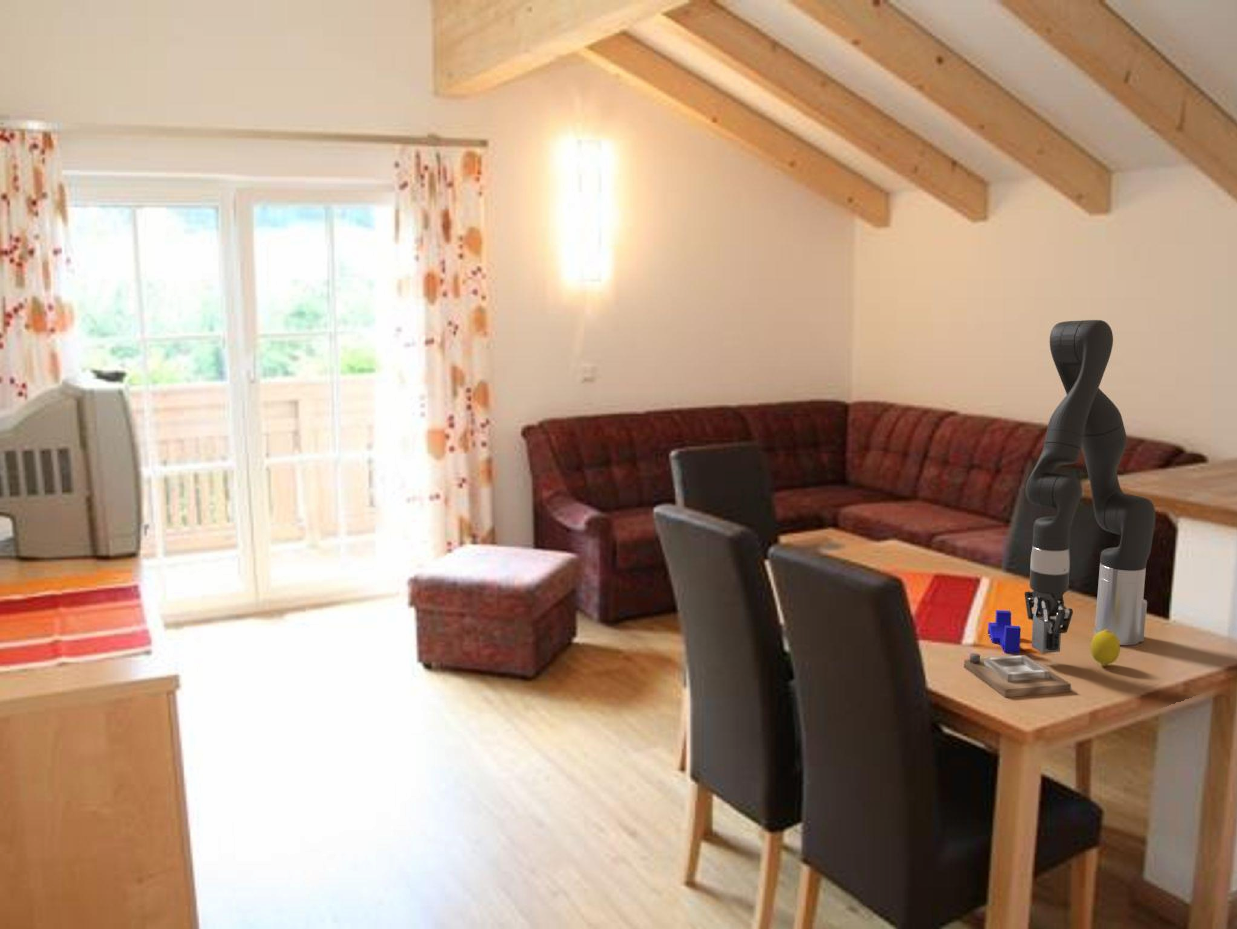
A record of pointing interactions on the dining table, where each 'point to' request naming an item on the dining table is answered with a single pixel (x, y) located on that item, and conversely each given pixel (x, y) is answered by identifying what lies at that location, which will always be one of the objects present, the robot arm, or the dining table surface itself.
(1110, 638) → the lemon
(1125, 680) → the dining table surface
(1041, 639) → the hinge block
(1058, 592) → the robot arm
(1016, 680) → the door panel
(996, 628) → the cable clip
